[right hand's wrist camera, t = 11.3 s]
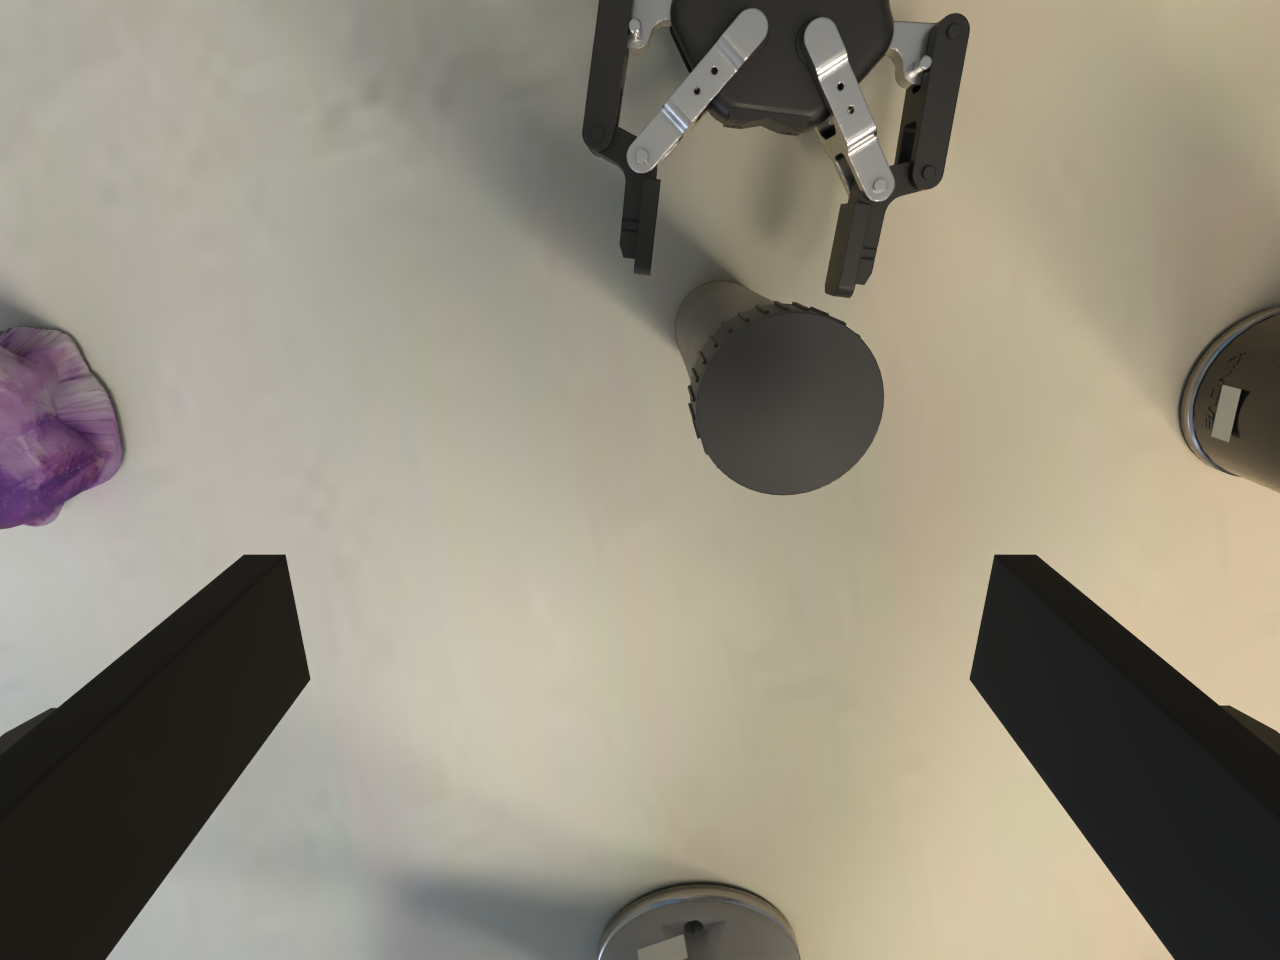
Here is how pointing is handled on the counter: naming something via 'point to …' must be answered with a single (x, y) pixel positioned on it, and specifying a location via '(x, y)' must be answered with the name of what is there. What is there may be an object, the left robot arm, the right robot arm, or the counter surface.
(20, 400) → the figurine
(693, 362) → the jar
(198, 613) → the right robot arm
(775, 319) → the lid
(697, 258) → the counter surface
